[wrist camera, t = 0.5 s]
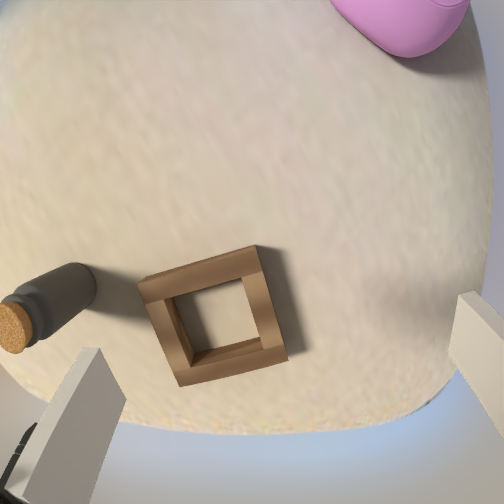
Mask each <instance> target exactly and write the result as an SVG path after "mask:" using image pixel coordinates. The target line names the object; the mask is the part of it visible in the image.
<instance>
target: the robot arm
mask: <svg viewBox="0 0 504 504" xmlns="http://www.w3.org/2000/svg"><path fill="white" fill-rule="evenodd" d="M447 354H448V355H449V357H450V358H451V359H452V361H453V362H454V364H455V365H456V367H457V368H458V369H459V371H460V372H461V374H462V375H463V377H464V378H465V380H466V381H467V383H468V384H469V386H470V387H471V388H472V390H473V392H474V393H475V394H476V396H477V397H478V399H479V401H480V402H481V404H482V405H483V407H484V408H485V410H486V412H487V413H488V415H489V417H490V418H491V420H492V421H493V423H494V425H495V426H496V428H497V430H498V431H499V433H500V435H501V436H502V438H503V440H504V318H503V317H502V316H501V315H500V314H499V313H498V312H497V311H495V310H494V309H493V308H492V307H491V306H490V305H489V304H488V303H487V302H486V301H485V300H484V299H483V298H482V297H481V296H479V295H478V294H477V293H476V292H475V291H470V292H467V293H463V294H459V295H458V300H457V307H456V312H455V318H454V323H453V328H452V333H451V338H450V343H449V347H448V352H447ZM126 400H127V399H126V398H125V396H124V394H123V392H122V390H121V389H120V387H119V385H118V383H117V381H116V379H115V378H114V376H113V374H112V372H111V370H110V368H109V366H108V364H107V362H106V360H105V358H104V356H103V354H102V352H101V350H100V348H83V350H82V351H81V353H80V354H79V356H78V358H77V359H76V361H75V362H74V364H73V365H72V367H71V369H70V370H69V372H68V373H67V375H66V377H65V378H64V380H63V381H62V383H61V385H60V386H59V388H58V390H57V391H56V393H55V395H54V396H53V398H52V400H51V401H50V403H49V405H48V406H47V408H46V410H45V412H44V413H43V415H42V417H41V419H40V420H39V422H38V423H34V424H33V425H32V426H31V427H30V428H29V429H28V430H27V431H26V432H25V434H24V435H23V437H22V439H21V441H20V443H19V444H20V445H18V446H17V448H16V450H15V454H13V456H12V458H11V459H10V461H9V463H8V465H7V467H6V469H5V471H4V473H3V475H2V477H1V479H0V504H89V502H90V499H91V496H92V493H93V490H94V487H95V484H96V481H97V478H98V475H99V472H100V470H101V467H102V464H103V461H104V458H105V455H106V453H107V450H108V447H109V444H110V442H111V439H112V436H113V433H114V431H115V428H116V426H117V423H118V420H119V418H120V415H121V413H122V410H123V407H124V405H125V402H126Z"/></svg>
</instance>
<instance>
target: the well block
mask: <svg viewBox="0 0 504 504" xmlns="http://www.w3.org/2000/svg"><path fill="white" fill-rule="evenodd" d="M238 278H242V282H243V285H244V288H245V291H246V295H247V298H248V301H249V304H250V307H251V311H252V314H253V317H254V320H255V323H256V326H257V330H258V333H259V336H260V337H257V338H254V339H250V340H246V341H243V342H239V343H235V344H231V345H227V346H224V347H220V348H216V349H212V350H207V351H203V352H199V353H195V354H194V351H193V349H192V346H191V344H190V341H189V339H188V336H187V334H186V331H185V329H184V326H183V323H182V321H181V318H180V316H179V313H178V310H177V308H176V305H175V302H174V299H173V297H174V296H178V295H181V294H185V293H188V292H192V291H195V290H199V289H203V288H206V287H210V286H213V285H217V284H220V283H224V282H227V281H231V280H234V279H238ZM137 286H138V289H139V291H140V294H141V297H142V299H143V302H144V305H145V307H146V310H147V312H148V315H149V317H150V320H151V322H152V325H153V327H154V330H155V332H156V335H157V337H158V340H159V342H160V344H161V347H162V349H163V351H164V354H165V356H166V358H167V360H168V363H169V365H170V367H171V369H172V372H173V374H174V376H175V378H176V380H177V382H178V385H179V387H183V386H188V385H193V384H198V383H203V382H207V381H212V380H216V379H220V378H225V377H229V376H233V375H237V374H241V373H245V372H249V371H253V370H257V369H260V368H264V367H268V366H272V365H275V364H279V363H282V362H286V361H289V360H288V357H287V353H286V350H285V346H284V343H283V339H282V336H281V333H280V329H279V326H278V322H277V319H276V315H275V312H274V308H273V305H272V301H271V298H270V295H269V291H268V288H267V284H266V281H265V277H264V274H263V271H262V267H261V264H260V260H259V257H258V253H257V250H256V247H255V245H252V246H249V247H245V248H242V249H238V250H235V251H232V252H228V253H225V254H221V255H218V256H215V257H211V258H208V259H204V260H201V261H198V262H194V263H191V264H187V265H184V266H181V267H177V268H174V269H171V270H167V271H164V272H161V273H157V274H154V275H150V276H147V277H145V278H144V279H143V280H142V281H141V282H140V283H139V284H138V285H137Z"/></svg>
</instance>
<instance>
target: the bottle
mask: <svg viewBox="0 0 504 504" xmlns="http://www.w3.org/2000/svg"><path fill="white" fill-rule="evenodd" d="M95 295H96V283H95V280H94V277H93V275H92V273H91V272H90V271H89V270H88V269H87V268H86V267H85V266H84V265H82V264H79V263H68V264H66V265H63V266H61V267H59V268H56V269H54V270H52V271H50V272H48V273H45V274H43V275H41V276H39V277H37V278H35V279H33V280H31V281H28V282H26V283H24V284H22V285H21V286H19V287H18V288H17V289H16V290H15V291H14V293H13V294H11V295H9V296H7V297H5V298H4V299H3V300H2V302H1V303H0V346H1V347H2V348H3V349H5V350H6V351H8V352H10V353H13V354H18V353H21V352H22V351H23V350H24V349H25V348H28V347H31V346H33V345H34V344H36V343H37V342H38V341H39V340H44V339H46V338H48V337H50V336H51V335H53V334H54V333H55V332H56V331H57V330H59V329H60V328H61V327H62V326H64V325H65V324H66V323H67V322H69V321H70V320H71V319H72V318H74V317H75V316H76V315H77V314H78V313H80V312H81V311H82V310H83V309H85V308H86V307H87V306H88V305H89V304H90V303H91V302H92V301H93V299H94V297H95Z"/></svg>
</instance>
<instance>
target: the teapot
mask: <svg viewBox="0 0 504 504" xmlns="http://www.w3.org/2000/svg"><path fill="white" fill-rule="evenodd" d="M330 1H331V3H332V5H333V6H334V7H335V9H336V10H337V11H338V12H339V13H340V14H341V15H342V16H343V17H344V18H345V19H346V20H347V21H349V22H350V23H351V24H352V25H353V26H354V27H355V28H356V29H358V30H359V31H360V32H361V33H362V34H364V35H365V36H366V37H367V38H369V39H370V40H371V41H372V42H374V43H375V44H376V45H377V46H379V47H380V48H382V49H383V50H385V51H386V52H388V53H390V54H393V55H396V56H400V57H406V58H412V57H417V56H421V55H424V54H427V53H429V52H431V51H433V50H435V49H436V48H438V47H439V46H440V45H442V44H443V43H444V42H445V41H446V40H447V39H448V38H449V37H450V36H451V35H452V34H453V33H454V32H455V31H456V29H457V28H458V27H459V25H460V23H461V22H462V20H463V18H464V16H465V13H466V11H467V8H468V5H469V3H470V0H330Z"/></svg>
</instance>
